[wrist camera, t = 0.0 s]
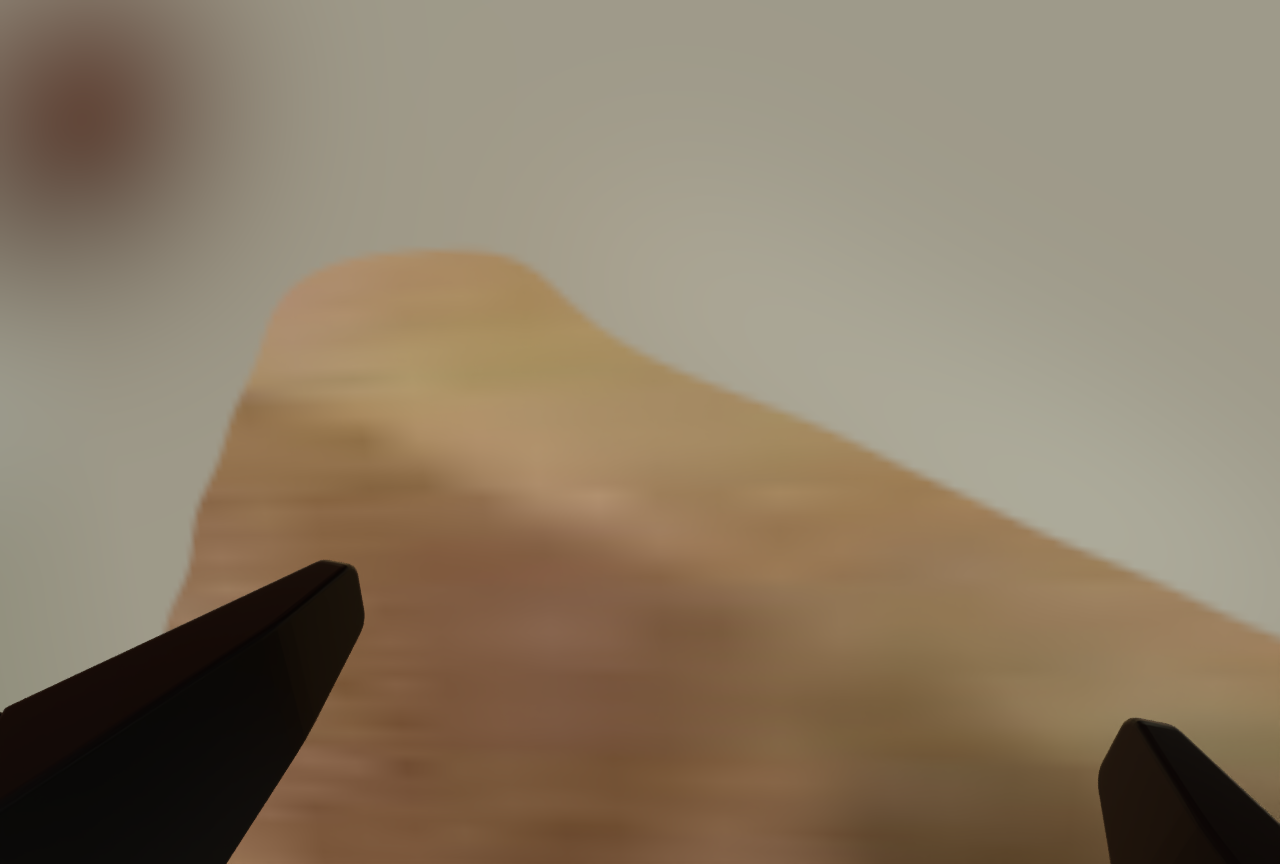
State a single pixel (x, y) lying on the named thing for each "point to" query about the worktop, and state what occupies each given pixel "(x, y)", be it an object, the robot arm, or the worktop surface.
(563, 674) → the worktop surface
